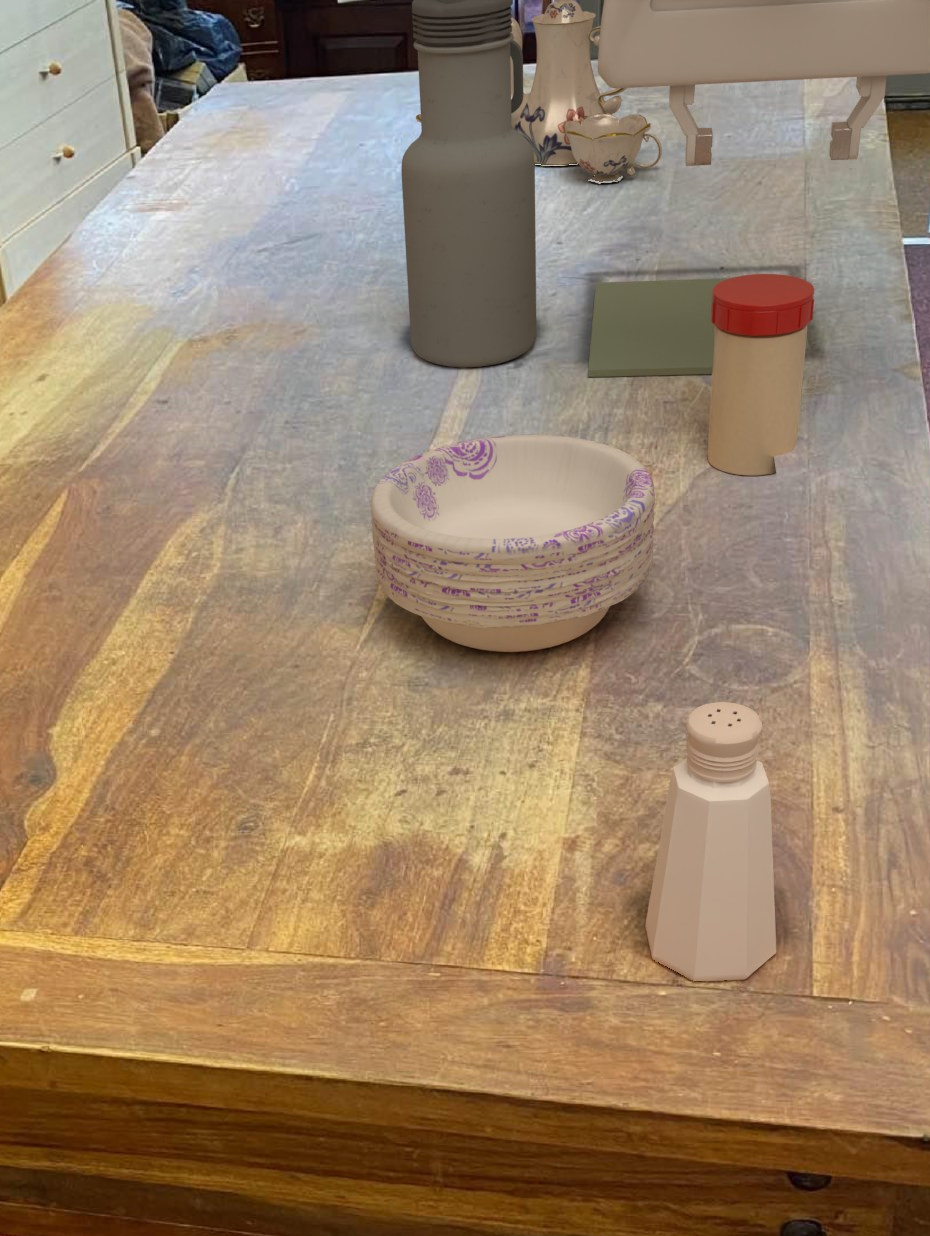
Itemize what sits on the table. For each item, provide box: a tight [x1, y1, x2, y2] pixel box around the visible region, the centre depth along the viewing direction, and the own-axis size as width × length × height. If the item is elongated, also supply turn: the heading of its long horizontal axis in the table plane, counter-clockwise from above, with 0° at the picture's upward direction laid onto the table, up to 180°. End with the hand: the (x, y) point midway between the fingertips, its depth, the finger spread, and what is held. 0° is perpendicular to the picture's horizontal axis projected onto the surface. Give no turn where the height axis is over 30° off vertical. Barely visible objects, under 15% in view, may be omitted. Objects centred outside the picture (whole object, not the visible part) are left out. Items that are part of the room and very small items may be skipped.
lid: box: [711, 273, 815, 336], centre depth 100 cm, size 6×6×2 cm
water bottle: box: [401, 0, 538, 368], centre depth 119 cm, size 10×10×28 cm
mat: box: [587, 275, 811, 378], centre depth 126 cm, size 16×20×1 cm
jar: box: [707, 325, 808, 477], centre depth 102 cm, size 6×6×11 cm
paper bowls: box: [369, 434, 656, 653], centre depth 89 cm, size 15×15×8 cm
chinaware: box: [415, 0, 663, 182], centre depth 165 cm, size 28×17×17 cm, turn 58°
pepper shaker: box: [644, 701, 777, 982], centre depth 64 cm, size 5×5×11 cm
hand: (770, 160), depth 95 cm, fingers open, 7 cm apart
